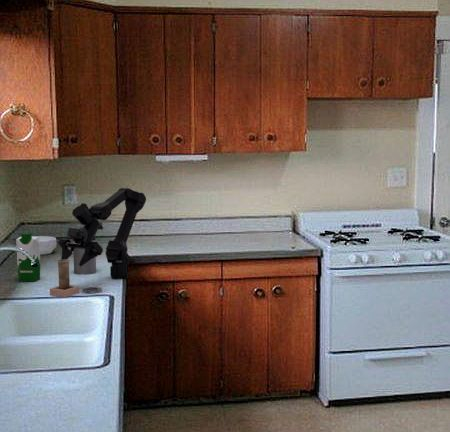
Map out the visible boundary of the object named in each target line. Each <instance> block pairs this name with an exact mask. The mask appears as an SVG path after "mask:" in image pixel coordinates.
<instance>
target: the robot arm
mask: <svg viewBox="0 0 450 432" xmlns="http://www.w3.org/2000/svg"><path fill="white" fill-rule="evenodd" d="M146 201H147V197H146V195H145V193H143V192H138V191H135V190H132V189H131V188H128V187H120V188H118V190H117V191H115V192H114V194H112V195H111V196H109V197H108V198H107V199H105V200H104V201H102V202H99V203H95V204H94V205H92V206H90V207H88V205H87V203H84V202H83V203H81V204H80V205H77V206H76V207H75V208H74V209H72V213H71V214H72V217H74V218H75V219H76V221H77V222H78V223H79V224H80V225H82V227H80V228H74V227H68V230H67V232H66V237H70V238H72V239H69V238H60V239H59V241H58V242H57V244H58V245H59V247H60V248H61V258H60V260H62V259H67V260H69V258H70V257H71V256H73V251H74V249H75V248H78V249H85V253H84V255H83V257H82V259H81V261H80V263H79V266H82V265H84V264H85V263H86V262H88V261H89V260H91V259H93V258H94V257H96V258H97V257H98V256H101V255H102V254H103V252H104V248H103V247H102V245H100V243H99V242H98V241H96V237H95V236H96V235H97V233H98V231H99V230H101V231H102V230H104V227H103V223H102V222H100V221H106V220H108V218H109V217H110V216H111V215H112V211H113V210H114V209H115V208H117V207H118V206H119V205H120V204H122V203H124V206H125V211H124V213H123V217H122V220H121V221H120V224H119V227H118V230H117V233H116V235H115V238H114V239H113V240H108V242H107V245H106V247H105V257H106V260H107V263H108V264H111V265H110V267H109V270H110V271H109V272H110V273H109V275H110V277H111V279H112V280H113V279H128V278H129V277H128V265H129V264H130V263H131V260H132V257H131V256H130V255H129V253H128V245H127V243H128V239H129V235H130V233H131V231H132V227H133V225H134V222H135V220H136V218H137V214H138V213H139V212H140V211H141V210H143V208H144V206H145V204H146ZM71 240H72V241H73V242H75V243H73V242H72V241H71ZM94 241H95V242H94Z"/></svg>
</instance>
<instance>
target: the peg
mask: <svg viewBox="0 0 450 432" xmlns="http://www.w3.org/2000/svg"><path fill="white" fill-rule="evenodd" d="M56 263H57V268H58V269H57V271H58V275H57V276H58V286H59V289H61V290H67V289H70V285H71V284H70V283H71V281H70V260H69V259H62V260H61V259H58V260H57V262H56Z"/></svg>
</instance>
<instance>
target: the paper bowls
mask: <svg viewBox="0 0 450 432" xmlns="http://www.w3.org/2000/svg"><path fill="white" fill-rule="evenodd" d="M39 244H40V246H39V247H40V256H45V255H50V254H52V253H53V251H54V249H56V248H57V238H56V237H54V236H48V235H47V236H44V235H43V236H42V235H41V236H40V235H39Z"/></svg>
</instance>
